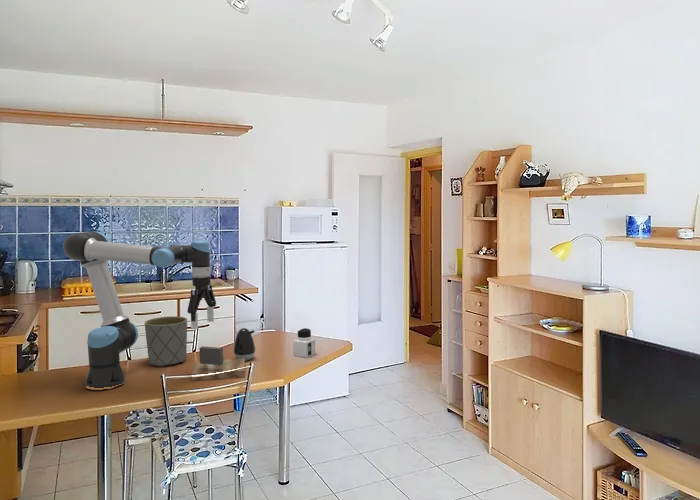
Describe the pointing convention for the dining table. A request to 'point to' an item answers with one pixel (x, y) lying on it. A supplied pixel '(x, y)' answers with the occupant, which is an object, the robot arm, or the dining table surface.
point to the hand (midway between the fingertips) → (202, 324)
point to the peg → (211, 356)
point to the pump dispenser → (244, 344)
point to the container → (304, 343)
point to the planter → (166, 340)
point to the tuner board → (220, 370)
